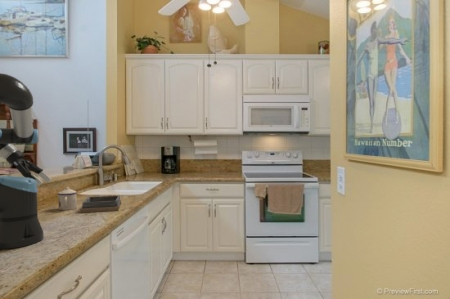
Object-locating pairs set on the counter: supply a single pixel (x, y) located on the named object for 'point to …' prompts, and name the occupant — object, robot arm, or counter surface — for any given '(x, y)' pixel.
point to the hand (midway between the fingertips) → (45, 182)
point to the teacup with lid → (67, 199)
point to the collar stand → (101, 204)
